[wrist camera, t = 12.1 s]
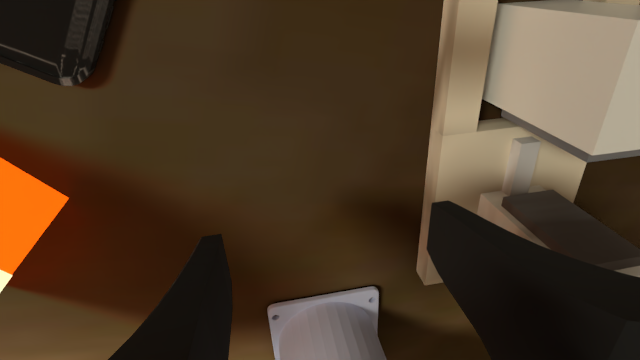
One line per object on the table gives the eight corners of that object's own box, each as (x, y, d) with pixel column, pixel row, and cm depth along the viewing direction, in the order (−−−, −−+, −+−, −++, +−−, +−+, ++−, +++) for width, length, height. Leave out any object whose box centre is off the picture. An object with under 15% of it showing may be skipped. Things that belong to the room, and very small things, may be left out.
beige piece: (539, 249, 29) (657, 357, 21) (416, 270, 28) (491, 396, 19) (632, -58, 19) (922, -81, 11) (448, -49, 18) (625, -67, 10)
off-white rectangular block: (540, 101, 23) (671, 157, 16) (479, 108, 22) (587, 168, 15) (566, -1, 20) (736, 13, 13) (497, 3, 20) (638, 20, 13)
